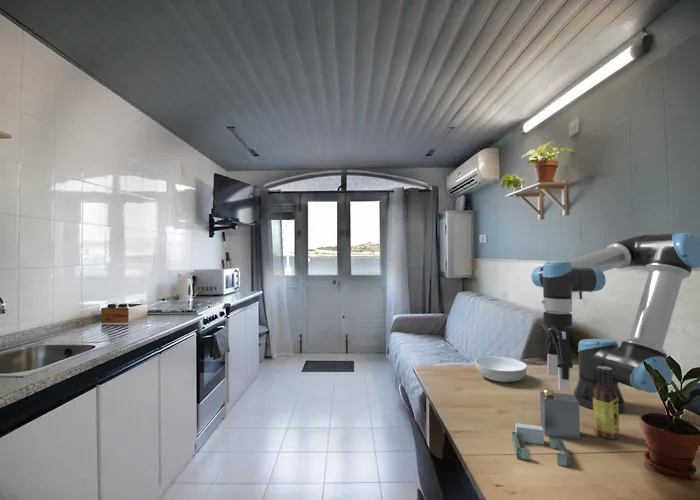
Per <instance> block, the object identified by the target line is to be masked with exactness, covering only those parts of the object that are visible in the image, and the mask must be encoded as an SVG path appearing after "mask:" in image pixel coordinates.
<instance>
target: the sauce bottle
mask: <svg viewBox="0 0 700 500" xmlns="http://www.w3.org/2000/svg"><path fill="white" fill-rule="evenodd" d="M596 371H597V381H598V382H597V383H596V385H595V386H594V387H593V409H592V414H593V415H592V417H593V418H592V420H593V430H594V434H596V435H597V436H599V437H601V438H604V439H610V440H616V439H618V438H619V435H620V418H619V417H620V415H619V413H620V412H619V407H618V395H617V392H616V390H615V388H614V385H613V381H612V374H613V369H612V368H610V367H606V366H597V367H596Z"/></svg>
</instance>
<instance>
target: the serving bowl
mask: <svg viewBox="0 0 700 500" xmlns="http://www.w3.org/2000/svg"><path fill="white" fill-rule="evenodd" d="M474 363H475V367H476V370H477V371H478V373H479V374H480V375H482V377H484V378H486V379H489V380H490V381H495V382H499V383H511V382H517V381H520V380H521V379H523V378H524V377H525V376H526V374H527V370H528V365H527V364H526V363H525V362H523V361H521V360H519V359H516V358H510V357H506V356H493V355H490V356H483V357H478V358H476V359H475V360H474Z"/></svg>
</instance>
